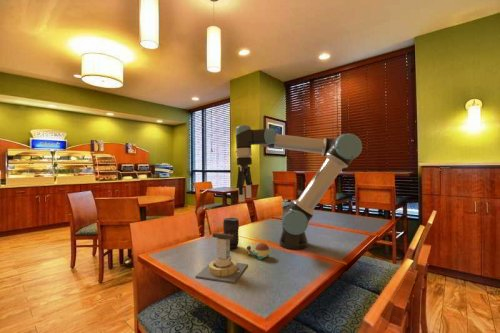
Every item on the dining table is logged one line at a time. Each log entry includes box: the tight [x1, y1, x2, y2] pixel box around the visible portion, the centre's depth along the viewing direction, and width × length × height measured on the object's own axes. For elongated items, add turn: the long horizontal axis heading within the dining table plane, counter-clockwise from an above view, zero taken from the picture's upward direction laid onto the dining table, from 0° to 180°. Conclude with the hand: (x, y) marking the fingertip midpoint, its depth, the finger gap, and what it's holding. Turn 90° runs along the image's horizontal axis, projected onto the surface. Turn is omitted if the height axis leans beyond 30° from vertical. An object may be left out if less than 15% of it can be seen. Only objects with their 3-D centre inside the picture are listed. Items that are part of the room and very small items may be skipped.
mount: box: [195, 258, 248, 284], centre depth 96 cm, size 16×16×3 cm
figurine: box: [246, 242, 270, 261], centre depth 111 cm, size 7×10×7 cm
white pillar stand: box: [212, 232, 234, 268], centre depth 96 cm, size 6×9×14 cm
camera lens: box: [222, 217, 240, 251], centre depth 123 cm, size 8×8×15 cm
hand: (245, 199), depth 117 cm, fingers open, 13 cm apart
